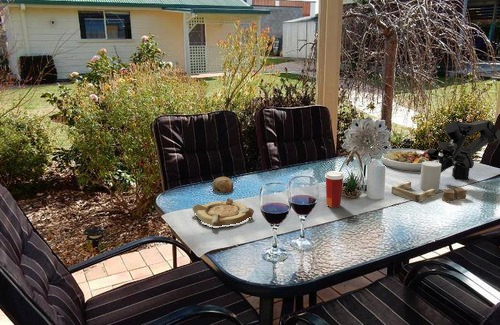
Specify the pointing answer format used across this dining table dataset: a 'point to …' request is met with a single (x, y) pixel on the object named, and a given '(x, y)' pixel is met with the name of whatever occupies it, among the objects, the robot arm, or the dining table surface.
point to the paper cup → (334, 188)
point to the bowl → (406, 159)
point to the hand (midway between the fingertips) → (438, 172)
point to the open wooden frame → (402, 191)
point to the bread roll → (222, 185)
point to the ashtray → (222, 212)
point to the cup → (430, 175)
